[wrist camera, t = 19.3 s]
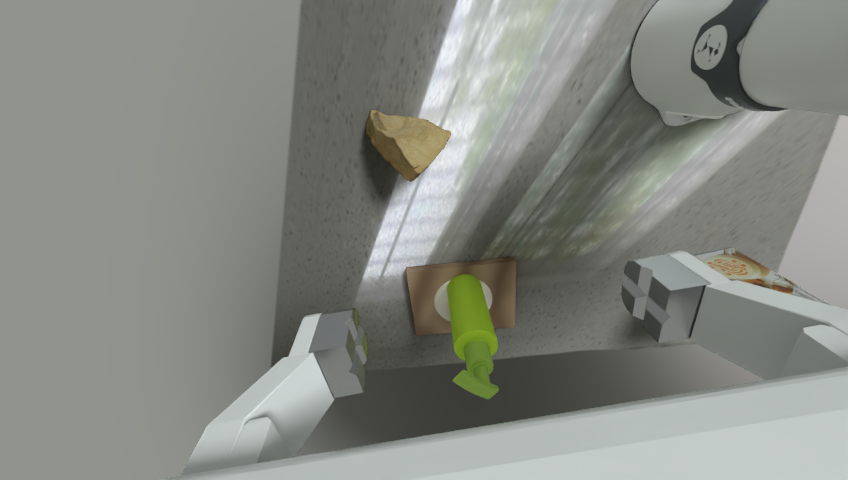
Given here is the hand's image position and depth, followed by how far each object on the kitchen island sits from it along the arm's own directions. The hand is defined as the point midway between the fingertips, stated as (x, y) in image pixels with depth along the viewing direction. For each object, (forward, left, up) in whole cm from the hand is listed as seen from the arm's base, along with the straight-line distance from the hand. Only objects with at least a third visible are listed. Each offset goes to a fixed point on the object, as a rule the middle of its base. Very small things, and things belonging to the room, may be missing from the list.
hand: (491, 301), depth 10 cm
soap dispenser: (-2, +27, -38) cm, 46 cm away
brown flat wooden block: (-2, +30, -39) cm, 49 cm away
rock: (+4, +1, -39) cm, 40 cm away
